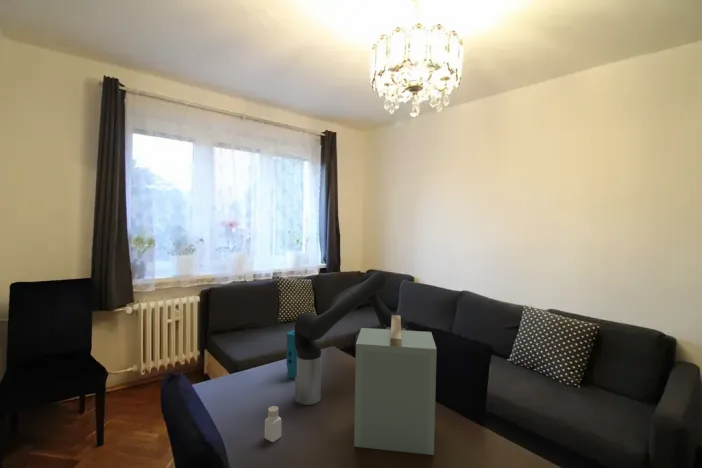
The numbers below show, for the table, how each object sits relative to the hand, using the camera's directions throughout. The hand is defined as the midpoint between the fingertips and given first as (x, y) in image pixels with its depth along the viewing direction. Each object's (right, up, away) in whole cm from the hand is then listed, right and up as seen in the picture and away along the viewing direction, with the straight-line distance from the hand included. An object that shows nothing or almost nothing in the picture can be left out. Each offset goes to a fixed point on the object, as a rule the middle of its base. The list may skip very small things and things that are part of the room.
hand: (395, 328), depth 133 cm
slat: (-2, +3, -18) cm, 18 cm away
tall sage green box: (-4, -29, -22) cm, 36 cm away
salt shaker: (-42, -28, -25) cm, 57 cm away
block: (-41, -27, +21) cm, 53 cm away
